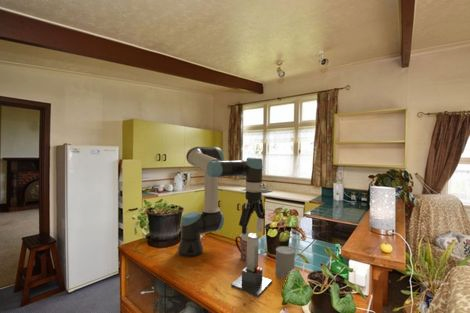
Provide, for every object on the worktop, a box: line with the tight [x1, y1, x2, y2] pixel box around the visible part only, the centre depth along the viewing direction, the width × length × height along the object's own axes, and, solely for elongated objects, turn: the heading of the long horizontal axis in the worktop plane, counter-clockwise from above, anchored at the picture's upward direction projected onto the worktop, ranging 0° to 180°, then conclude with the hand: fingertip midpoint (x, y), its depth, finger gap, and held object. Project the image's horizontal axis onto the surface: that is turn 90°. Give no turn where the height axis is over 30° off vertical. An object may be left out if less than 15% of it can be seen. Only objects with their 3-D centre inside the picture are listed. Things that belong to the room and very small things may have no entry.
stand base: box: [230, 266, 273, 298], centre depth 109 cm, size 14×14×8 cm
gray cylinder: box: [274, 245, 296, 280], centre depth 119 cm, size 10×10×12 cm
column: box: [245, 232, 261, 272], centre depth 108 cm, size 5×5×16 cm
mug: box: [234, 232, 251, 262], centre depth 136 cm, size 13×9×14 cm
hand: (252, 235), depth 109 cm, fingers open, 13 cm apart
